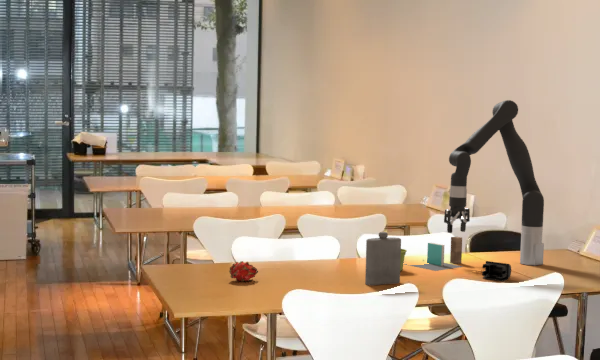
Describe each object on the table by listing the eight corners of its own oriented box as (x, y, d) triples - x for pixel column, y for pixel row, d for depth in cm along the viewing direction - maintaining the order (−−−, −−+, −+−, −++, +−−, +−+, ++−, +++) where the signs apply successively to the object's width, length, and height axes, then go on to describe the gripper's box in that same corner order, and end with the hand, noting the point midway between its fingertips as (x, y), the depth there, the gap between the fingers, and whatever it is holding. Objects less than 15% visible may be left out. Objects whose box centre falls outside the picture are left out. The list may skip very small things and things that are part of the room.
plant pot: (388, 272, 349) (389, 252, 348) (380, 268, 358) (381, 248, 357) (409, 271, 351) (410, 251, 350) (401, 267, 360) (401, 247, 359)
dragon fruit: (225, 285, 324) (255, 288, 328) (232, 275, 317) (262, 279, 321) (225, 265, 328) (254, 268, 332) (231, 255, 322) (261, 259, 326)
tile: (443, 265, 366) (444, 245, 365) (440, 265, 365) (441, 245, 364) (430, 262, 372) (430, 242, 371) (427, 263, 371) (427, 243, 370)
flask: (394, 280, 332) (395, 230, 330) (402, 283, 327) (403, 232, 325) (361, 283, 326) (363, 232, 324) (369, 286, 320) (370, 234, 319)
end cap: (511, 279, 340) (511, 263, 339) (504, 282, 334) (504, 265, 333) (488, 276, 346) (488, 260, 345) (481, 278, 340) (481, 262, 339)
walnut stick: (461, 264, 372) (462, 237, 371) (456, 265, 370) (457, 238, 369) (455, 263, 375) (456, 236, 374) (450, 263, 373) (451, 237, 372)
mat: (463, 267, 364) (463, 266, 363) (435, 271, 352) (435, 270, 352) (426, 260, 381) (426, 259, 381) (398, 263, 370) (398, 262, 370)
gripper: (453, 197, 363) (451, 234, 364) (475, 196, 372) (473, 232, 373) (440, 195, 369) (439, 232, 370) (462, 194, 377) (460, 230, 379)
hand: (456, 232), depth 371 cm, fingers open, 8 cm apart
